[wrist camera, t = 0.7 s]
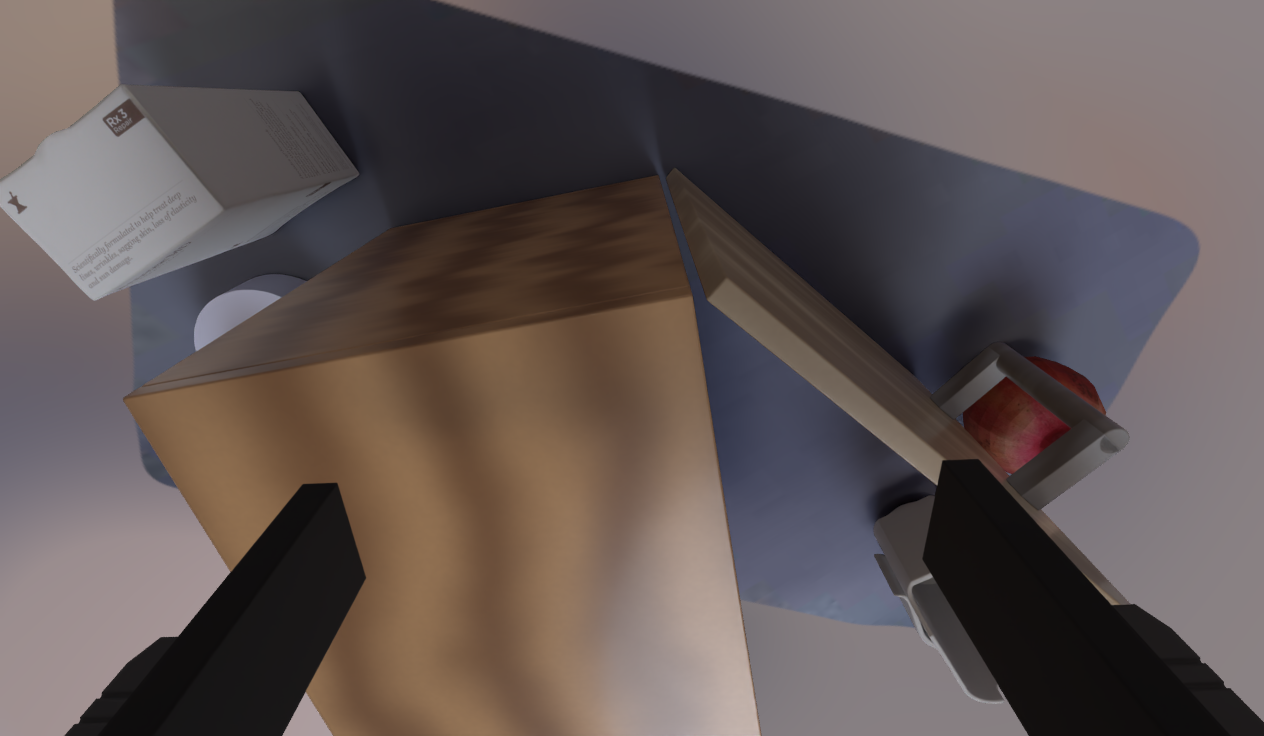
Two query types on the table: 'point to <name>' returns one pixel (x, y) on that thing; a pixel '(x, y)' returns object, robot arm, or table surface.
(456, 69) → the table surface
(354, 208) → the table surface
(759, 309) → the cupboard door
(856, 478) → the table surface
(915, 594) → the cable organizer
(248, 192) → the cosmetic box
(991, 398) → the fruit
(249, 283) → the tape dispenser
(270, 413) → the cupboard
